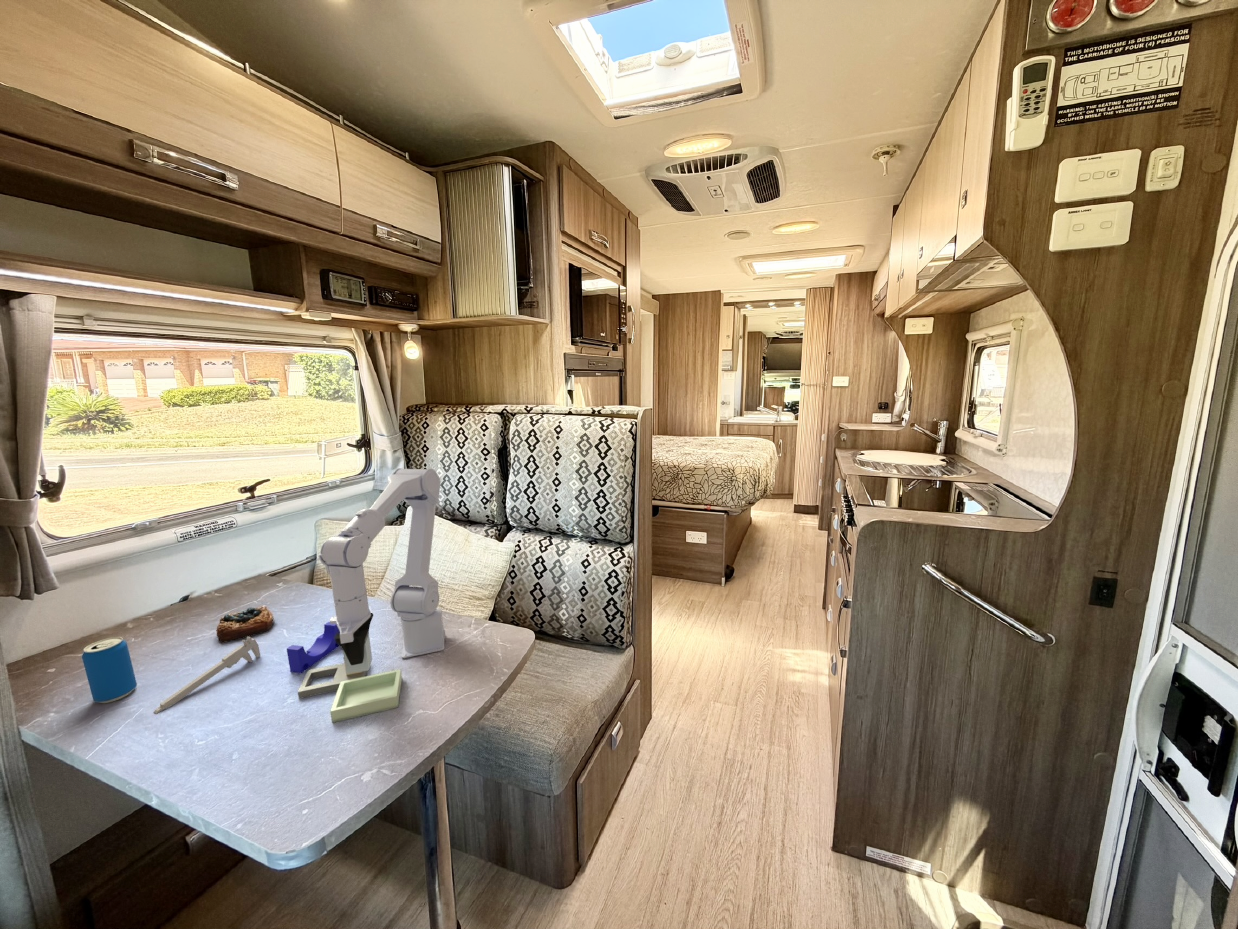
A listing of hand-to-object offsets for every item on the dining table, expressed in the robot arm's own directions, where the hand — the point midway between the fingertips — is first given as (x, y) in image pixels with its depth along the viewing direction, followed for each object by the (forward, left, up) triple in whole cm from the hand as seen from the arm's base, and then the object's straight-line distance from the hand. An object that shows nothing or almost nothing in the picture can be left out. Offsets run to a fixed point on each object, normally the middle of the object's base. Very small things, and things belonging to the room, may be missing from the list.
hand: (359, 657), depth 96 cm
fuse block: (+7, -9, -9) cm, 15 cm away
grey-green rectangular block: (0, 0, -2) cm, 2 cm away
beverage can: (+51, -22, -10) cm, 56 cm away
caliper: (+33, -19, -10) cm, 40 cm away
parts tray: (-1, +1, -9) cm, 9 cm away
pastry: (+35, -44, -10) cm, 57 cm away
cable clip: (+14, -22, -10) cm, 27 cm away
